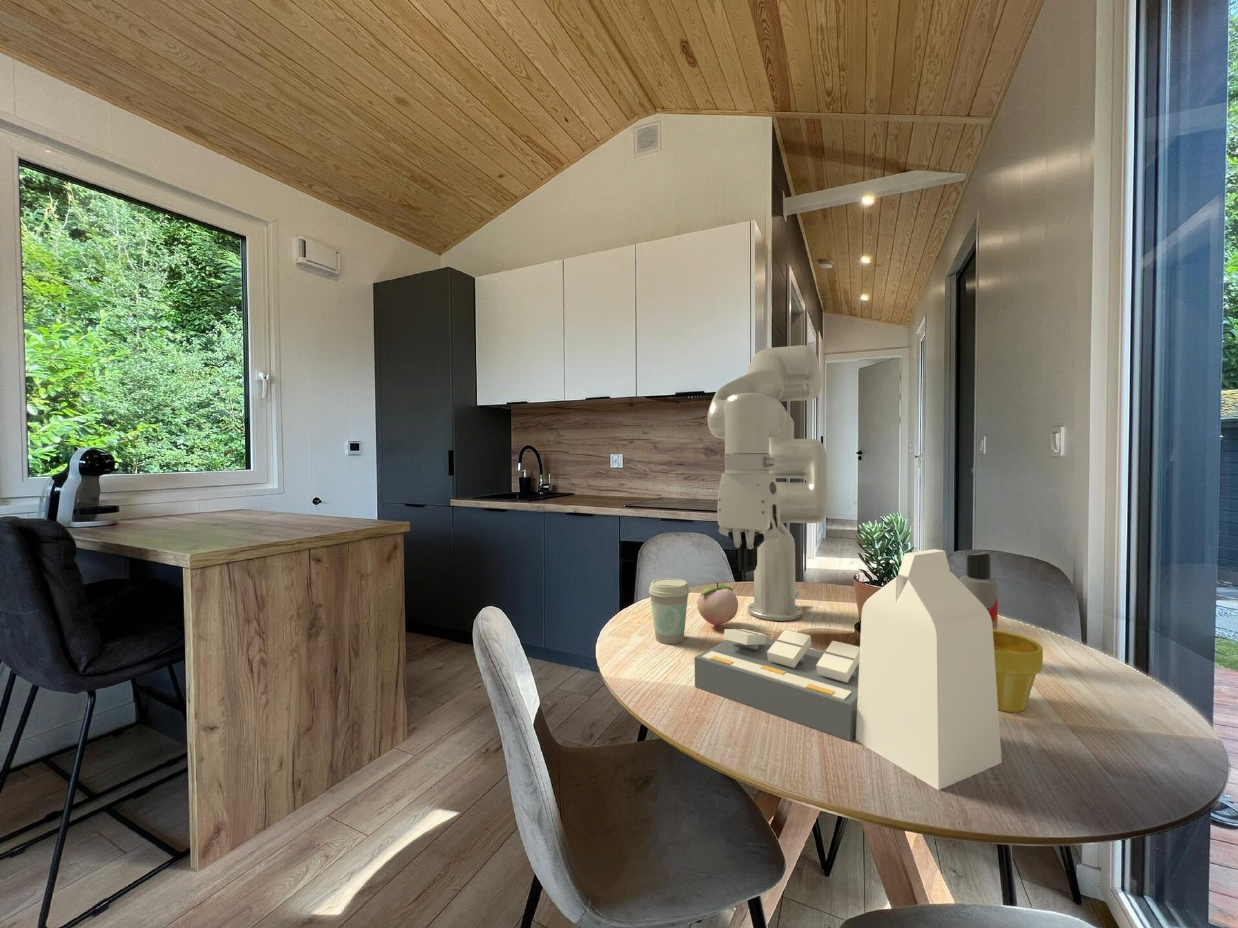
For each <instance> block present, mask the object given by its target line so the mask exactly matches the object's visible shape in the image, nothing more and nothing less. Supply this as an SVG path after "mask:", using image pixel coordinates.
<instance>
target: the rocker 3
mask: <svg viewBox="0 0 1238 928" xmlns="http://www.w3.org/2000/svg"><path fill="white" fill-rule="evenodd" d="M823 652H824V654H823V656H822V657H821V659H820V660H819V661H818V663H817V664H816V668H817V674H818V675H822V676H825V677H829V678H832V679H836V680H839V681H843V682H848V681H849V679H850V677H851V675H852V674H853V672H854V670H855V668H856V667H857V665H858V663H859V659H860V646H858V645H853V644H849V643H845V642H839V641H836V640H832V641H831V642H830V644H829V645H828V647H827V648H826V650H825V651H823Z"/></svg>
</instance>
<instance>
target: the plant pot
mask: <svg viewBox="0 0 1238 928" xmlns="http://www.w3.org/2000/svg"><path fill="white" fill-rule="evenodd" d="M993 641H994V656H995V671H996V685H997V700H998V711H1000V712H1006V713H1019V712H1020V713H1021V712H1023V711H1025V709H1026V708H1027V705H1028V703H1029V698H1030V694H1031V692H1032V688H1033V686H1034V681H1035V678H1036V675H1037V674H1038V673H1040V672H1042V670H1043V663H1044V662H1043V660H1044V659H1043V658H1044V649H1043V646H1042V645H1041V644H1040V643H1039V642H1037V641H1036V640H1034V639H1032V638H1030V637H1028V636H1024V635H1022V634H1017V633H1014V632H1010V631H1005V630H1004V631H1003V630H999V629H998V630H993Z"/></svg>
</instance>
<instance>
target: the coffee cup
mask: <svg viewBox="0 0 1238 928" xmlns="http://www.w3.org/2000/svg"><path fill="white" fill-rule="evenodd" d="M648 589H649V590H648V593H649V595H650V596H649V597H650V601H651V603H650V604H651V610H652V619H653V620H652V621H653V625H654V634H655V640H656V641H657V642H658V643H660V644H664V645H676V644H680V643H683V641H684V640H685V639H684V638H685V629H686V621H687V620H686V619H687V607H688V597H689V594H690V592H691V591H690V588H689V586H688V582H687V581H686V580H684V579H680V578H669V577H668V578H666V577H665V578H664V577H663V578H657V579H653V580H652V581H651V583H650V586H649V587H648Z"/></svg>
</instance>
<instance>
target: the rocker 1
mask: <svg viewBox="0 0 1238 928" xmlns="http://www.w3.org/2000/svg"><path fill="white" fill-rule="evenodd" d="M723 630H724V631H723V640H725V641H726V640H730V641H734V642H738V643H741V644H745V645H757V644H766V638H768V635H767V634H765V633H761V632H758V631H757V632H756V631H752V630H749V629H743V628H741V629H740V628H736V627H735V628H733V629H732V628H728V629H727V628H725V629H723Z"/></svg>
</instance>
